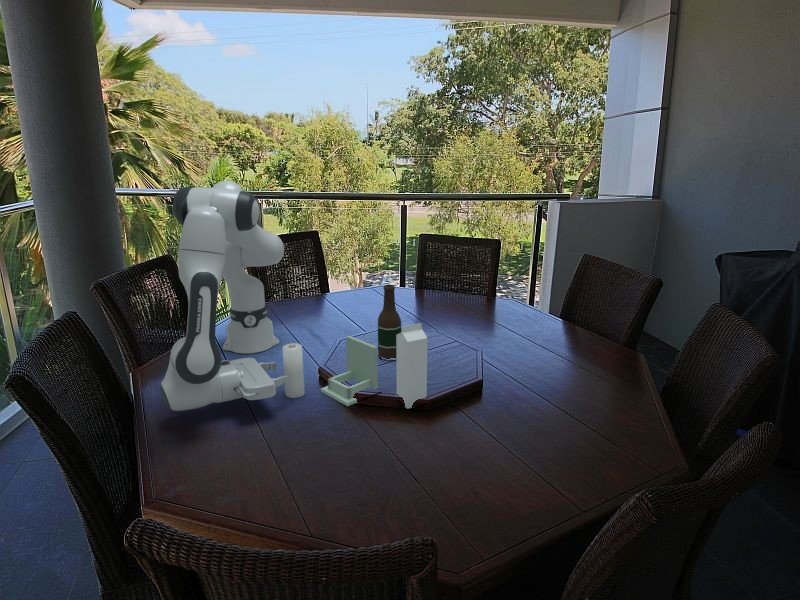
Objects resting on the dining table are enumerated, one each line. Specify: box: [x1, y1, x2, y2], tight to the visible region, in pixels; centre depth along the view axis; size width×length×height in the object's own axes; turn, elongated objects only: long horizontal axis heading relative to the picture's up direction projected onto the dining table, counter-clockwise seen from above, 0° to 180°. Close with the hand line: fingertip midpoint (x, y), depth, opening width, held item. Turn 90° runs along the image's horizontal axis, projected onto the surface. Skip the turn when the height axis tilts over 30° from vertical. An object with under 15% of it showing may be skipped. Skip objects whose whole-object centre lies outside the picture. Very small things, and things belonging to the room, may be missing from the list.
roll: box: [282, 342, 305, 399], centre depth 148 cm, size 5×5×14 cm
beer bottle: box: [377, 284, 402, 359], centre depth 172 cm, size 8×8×24 cm
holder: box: [320, 335, 379, 407], centre depth 149 cm, size 12×12×14 cm
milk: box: [395, 322, 428, 410], centre depth 142 cm, size 6×6×22 cm
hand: (281, 371), depth 146 cm, fingers open, 8 cm apart
